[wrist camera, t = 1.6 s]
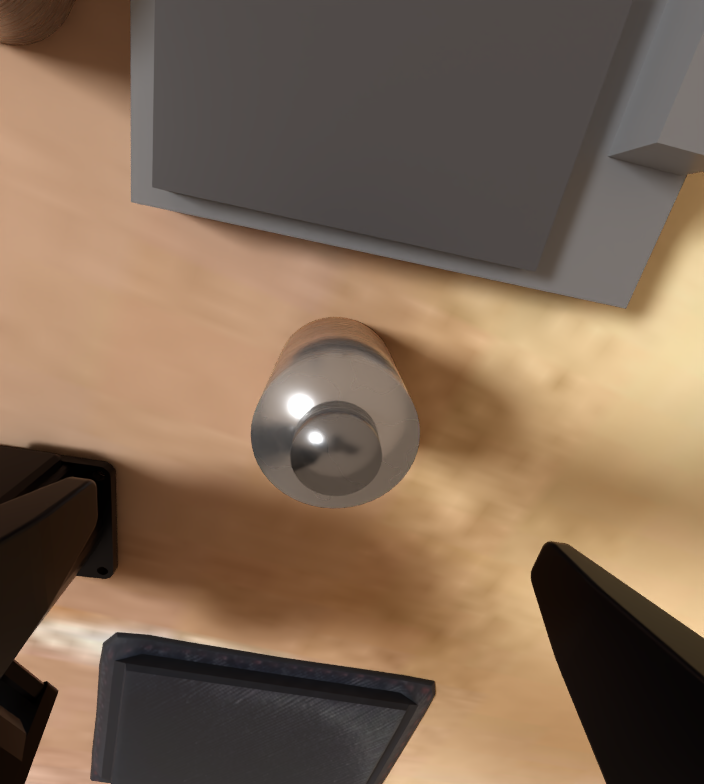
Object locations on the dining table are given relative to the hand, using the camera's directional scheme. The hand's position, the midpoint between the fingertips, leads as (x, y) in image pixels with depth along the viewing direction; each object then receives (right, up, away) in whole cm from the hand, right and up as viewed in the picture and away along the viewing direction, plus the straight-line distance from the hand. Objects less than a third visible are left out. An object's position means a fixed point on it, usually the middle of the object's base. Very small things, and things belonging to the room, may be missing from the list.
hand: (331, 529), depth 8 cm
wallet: (-6, -19, +18) cm, 27 cm away
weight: (0, +3, +9) cm, 9 cm away
